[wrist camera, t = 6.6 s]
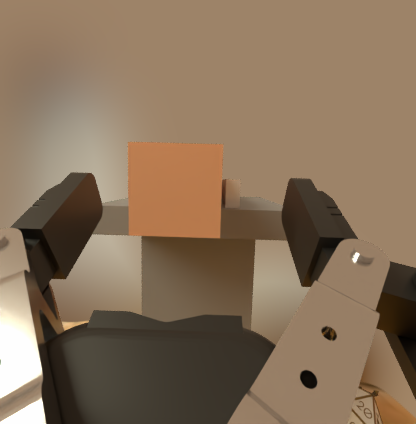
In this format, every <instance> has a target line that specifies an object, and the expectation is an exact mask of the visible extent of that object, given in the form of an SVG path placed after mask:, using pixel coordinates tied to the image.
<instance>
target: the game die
mask: <svg viewBox="0 0 416 424" xmlns="http://www.w3.org/2000/svg"><path fill="white" fill-rule="evenodd" d="M377 395H378V391H374V392H373V393H372V394H371V393H369V392H367V391H366V390H364V389H362V387H358V390H357V394H356V397H355V400H354V403H353V407H352V410H351V413H350V417H349V420H348V423H347V424H383V423H382V420H381V417H380V413H379V410H378V407H377V404H376V401H375V398H374V396H377Z"/></svg>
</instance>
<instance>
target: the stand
mask: <svg viewBox="0 0 416 424" xmlns="http://www.w3.org/2000/svg"><path fill="white" fill-rule="evenodd" d="M240 182H241V180H233V179H232V180H231V179H225V180H222V195H221V225H220V238H193V237H162V236H142V315H143V316H146V317H149V318H152V319H156V320H159V321H163V322H171V321H176V320H181V319H185V318H190V317H195V316H200V315H205V314H207V315H234V316H242V326H243V328H246V329H249V330H251V314H252V295H253V293H252V292H253V274H254V255H255V239H259V240H287V238H286V235H285V231H284V228H283V225H282V218H281V215H282V208H283V205H280V204H277V203H274V202H271V201H269V200H266V199H263V198H260V197H240V184H241V183H240ZM102 206H103V214H102V218H101V220H100V221H99V223H98V225H97V227H96V228H95V230H94V232H93V233H92V234H104V235H129V209H128V198H126V199H121V200H116V201H111V202H105V203H102Z"/></svg>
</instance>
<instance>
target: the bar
mask: <svg viewBox="0 0 416 424" xmlns="http://www.w3.org/2000/svg"><path fill="white" fill-rule="evenodd" d="M222 166H223V144H193V143H189V144H188V143H153V142H128V209H129V235H133V236H162V237H193V238H220V225H221V195H222Z"/></svg>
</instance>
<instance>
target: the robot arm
mask: <svg viewBox="0 0 416 424" xmlns="http://www.w3.org/2000/svg"><path fill="white" fill-rule="evenodd" d="M102 214H103V206H102V202H101V198H100V195H99V191H98V187H97V184H96V180H95V177H94V175H93V174H92V173H70V174H69V175H68V176H67V177H66V178H65V179H64V180H63V181H62V182H61V183H60V184H58V185H56V186H54V187H53V188H51V189H49V190H47V191H46V192H45V193H44V194H43V195H42V196H41V197H40V198H39V200H37V201H36V202H35V203H34V204H33V206H32V207H30V208H29V209H28V210H27V211H26V212H25V213H24V214H23V215H22V216H21V217H20V218H19V219H18V220H17V221H16V222H15V223H14V224H13V225H12V226H11V227H10V228H2V229H0V424H347V423H348V420H349V417H350V413H351V410H352V407H353V403H354V400H355V397H356V394H357V390H358V387H359V384H360V380H361V377H362V374H363V370H364V367H365V364H366V360H367V357H368V354H369V350H370V347H371V344H372V340H373V337H374V333H375V330H376V328H377V329H380V330H383V331H384V332H385V335H386V337H387V339H388V341H389V343H390V346H391V348H392V350H393V352H394V354H395V356H396V358H397V361H398V363H399V365H400V367H401V369H402V371H403V373H404V375H405V378H406V380H407V382H408V384H409V386H410V388H411V390H412V393H413V395H414V397H415V399H416V268H414V267H410V266H406V265H402V264H398V263H394V262H390V261H389V258H388V256H387V255H386V254H385V253H384V252H383V251H382V250H381V249H380V248H378V247H377V246H375V245H374V244H371V243H369V242H367V241H364V240H360V239H358V238H357V236H356V235H355V233H354V232H353V231H352V229H351V227H350V226H349V224H348V222H347V221H346V219H345V218H344V216H342V213H341V211H340V210H339V209H338V207H337V205H336V204H335V202H334V200H333V199H332V198H331V197H329V196H328V195H327V194H326V193H324V192H323V191H317V189H316V188H315V186H314V184H313V183H312V181H311V180H310V179H300V178H298V179H297V178H291V179H290V180H289V182H288V186H287V190H286V195H285V199H284V204H283V208H282V215H281V218H282V225H283V228H284V231H285V235H286V238H287V241H288V244H289V247H290V251H291V254H292V257H293V260H294V263H295V267H296V270H297V273H298V276H299V279H300V283H301V286H303V287H311V288H310V290H309V291H308V293H307V295H306V296H305V298H304V300H303V301H302V303H301V305H300V307H299V308H298V310H297V311H296V313H295V315H294V317H293V318H292V320H291V322H290V323H289V325H288V327H287V328H286V330H285V332H284V333H283V335H282V337H281V338H280V340H279V342H278V343H277V345H275V344H273V343H272V342H271V341H269V340H268V339H267V338H265V337H263V336H262V335H260V334H258V333H256V332H254V331H251V330H249V329H246V328H243V326H242V316H234V315H207V314H205V315H200V316H195V317H190V318H185V319H181V320H176V321H171V322H163V321H159V320H156V319H152V318H149V317H146V316H143V315H139V314H136V313H132V312H126V311H99V310H94V311H93V313H92V316H91V318H90V320H89V323H84V324H81V325H78V326H75V327H73V328H70V329H68V330H66V331H64V328H63V325H62V321H61V318H60V314H59V311H58V307H57V303H56V300H55V296H54V292H53V289H52V287H51V285H50V283H49V281H50V280H51V279H66V278H67V276H68V274H69V273H70V271H71V269H72V268H73V266H74V264H75V262H76V261H77V259H78V257H79V256H80V254H81V252H82V250H83V249H84V247H85V245H86V244H87V242H88V240H89V239H90V237H91V235H92V233H93V232H94V230H95V228H96V227H97V225H98V223H99V221H100V220H101V218H102Z"/></svg>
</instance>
